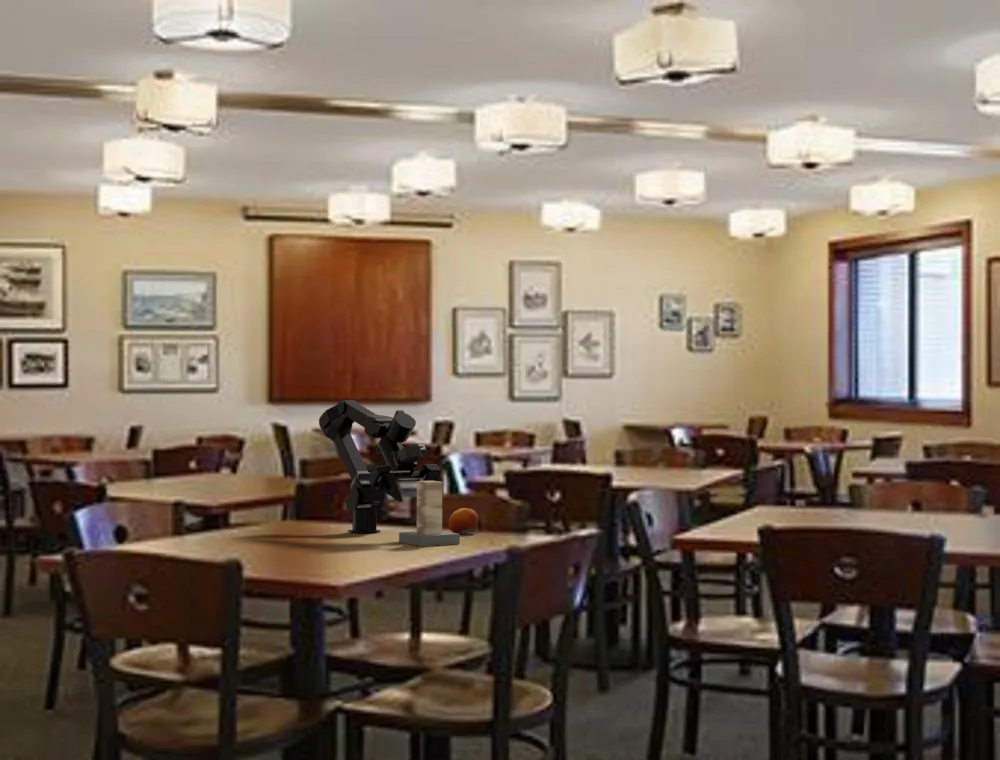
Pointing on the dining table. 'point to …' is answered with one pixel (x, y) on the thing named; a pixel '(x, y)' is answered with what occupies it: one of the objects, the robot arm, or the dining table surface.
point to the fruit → (463, 521)
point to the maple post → (429, 507)
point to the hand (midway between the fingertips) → (416, 500)
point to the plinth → (429, 538)
